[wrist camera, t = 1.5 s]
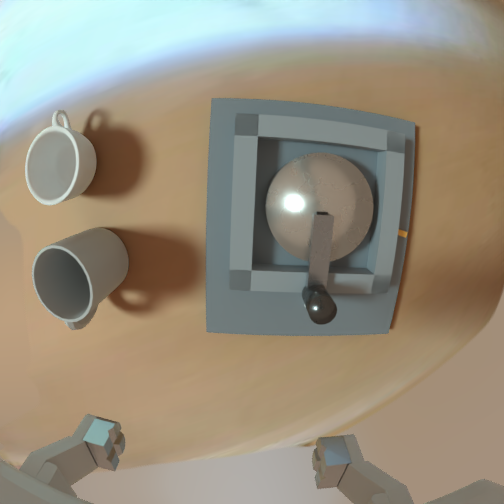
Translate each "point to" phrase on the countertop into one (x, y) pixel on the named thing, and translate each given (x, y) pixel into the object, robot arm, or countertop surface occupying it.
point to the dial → (319, 219)
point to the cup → (79, 274)
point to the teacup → (59, 163)
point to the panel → (261, 238)
